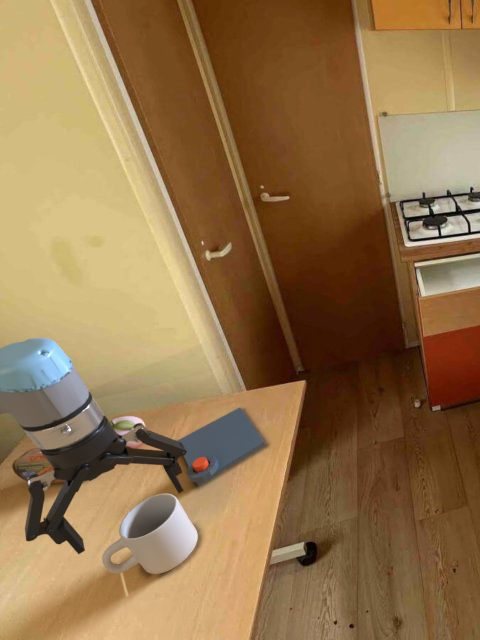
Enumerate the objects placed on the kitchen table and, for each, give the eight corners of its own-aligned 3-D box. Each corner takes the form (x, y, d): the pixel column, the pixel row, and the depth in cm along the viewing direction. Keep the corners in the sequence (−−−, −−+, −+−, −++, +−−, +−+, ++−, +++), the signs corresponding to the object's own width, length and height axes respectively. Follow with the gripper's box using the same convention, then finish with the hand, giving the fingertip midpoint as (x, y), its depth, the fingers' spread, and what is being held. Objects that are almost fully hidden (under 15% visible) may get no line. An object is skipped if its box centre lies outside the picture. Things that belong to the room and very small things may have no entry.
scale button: (197, 474, 91) (194, 469, 91) (193, 467, 93) (190, 462, 92) (210, 466, 93) (208, 461, 92) (207, 459, 95) (204, 454, 94)
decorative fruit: (160, 431, 105) (144, 402, 100) (145, 459, 98) (127, 429, 93) (116, 439, 102) (97, 410, 98) (96, 469, 95) (75, 439, 91)
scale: (195, 491, 91) (190, 482, 89) (174, 446, 101) (170, 438, 99) (267, 447, 101) (263, 438, 99) (241, 410, 111) (238, 402, 109)
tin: (23, 485, 92) (1, 460, 88) (36, 472, 95) (15, 447, 91) (97, 479, 93) (79, 454, 89) (107, 467, 96) (90, 441, 92)
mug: (190, 517, 86) (170, 483, 81) (204, 546, 81) (184, 512, 76) (115, 568, 78) (87, 533, 73) (126, 603, 73) (97, 569, 68)
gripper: (-57, 509, 53) (33, 595, 63) (177, 396, 69) (220, 478, 79) (-54, 472, 57) (30, 558, 67) (166, 375, 74) (207, 455, 84)
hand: (133, 515), depth 73 cm, fingers open, 13 cm apart
